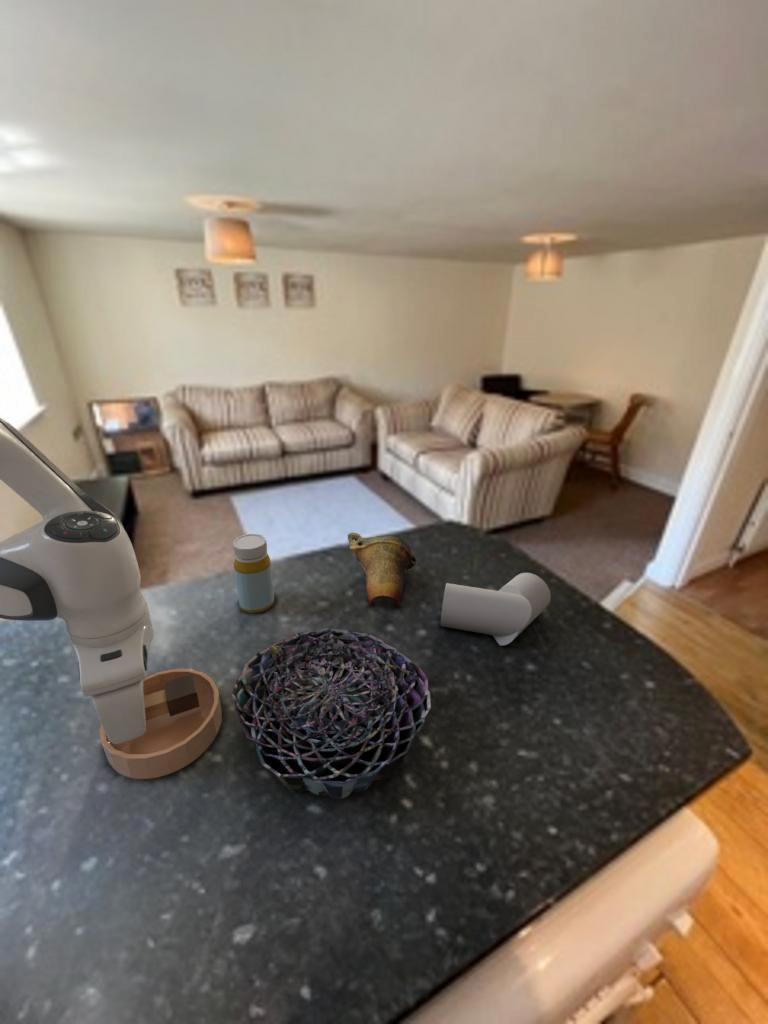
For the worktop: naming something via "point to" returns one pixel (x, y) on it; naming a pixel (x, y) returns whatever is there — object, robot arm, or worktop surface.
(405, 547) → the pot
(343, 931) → the worktop surface
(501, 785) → the worktop surface
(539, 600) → the bent grey cylinder
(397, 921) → the worktop surface
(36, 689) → the worktop surface
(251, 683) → the decorative bowl
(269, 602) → the bottle
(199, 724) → the wash bowl
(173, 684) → the brush
